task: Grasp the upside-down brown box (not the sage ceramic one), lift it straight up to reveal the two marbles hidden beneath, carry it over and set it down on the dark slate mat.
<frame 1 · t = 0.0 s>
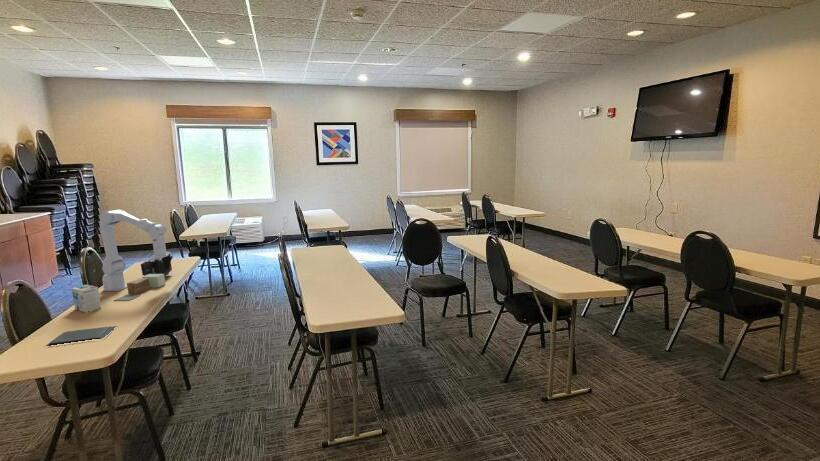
hand: (162, 271, 223), 10 cm above the table, tool pointing down, fingers open, 7 cm apart
marble b: (136, 292, 220), on the table
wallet: (83, 338, 166), on the table
marble c: (154, 283, 232), in the sage cover
camera: (158, 277, 248), on the table
marble a: (142, 290, 224), on the table
slate mat: (127, 298, 211), on the table
brown box: (139, 291, 222), on the table
sage cover: (154, 285, 232), on the table
light bulb box: (88, 309, 197), on the table
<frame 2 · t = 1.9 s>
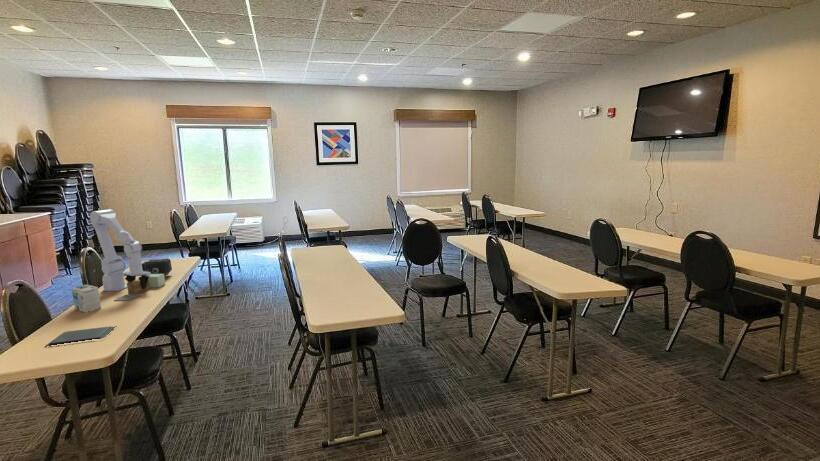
hand: (139, 288, 222), 1 cm above the table, tool pointing down, fingers closed on brown box, 5 cm apart
brown box: (139, 291, 222), on the table, touching gripper
everything else where it was.
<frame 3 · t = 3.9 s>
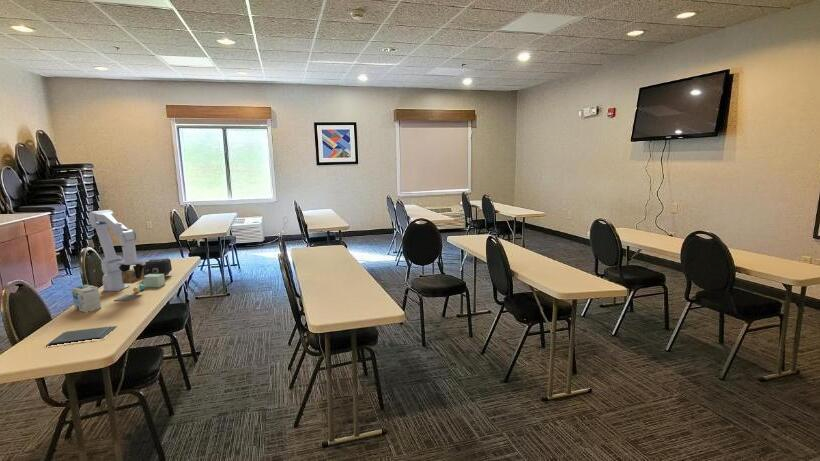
hand: (133, 278, 217), 8 cm above the table, tool pointing down, fingers closed on brown box, 5 cm apart
brown box: (134, 281, 217), point 7 cm above the table, touching gripper
everything else where it was.
when the fingers open (3 cm above the table, at t = 5.9 s): brown box stays where it is, resting on slate mat.
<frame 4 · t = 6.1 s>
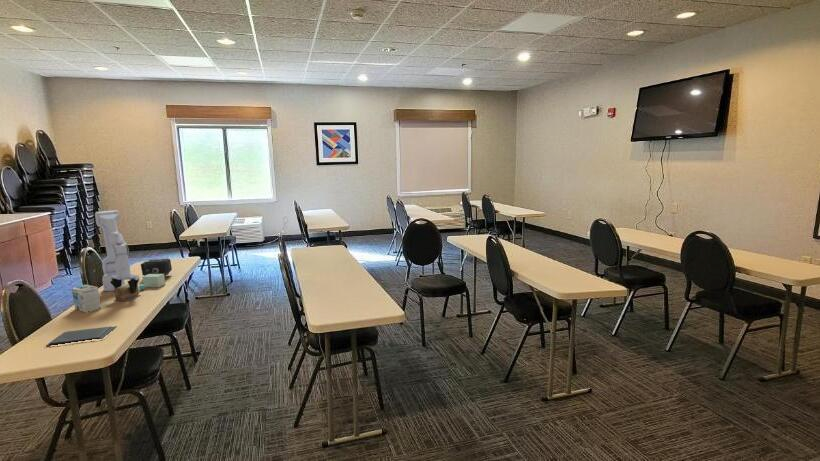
hand: (126, 293, 211), 3 cm above the table, tool pointing down, fingers open, 7 cm apart
brown box: (127, 297, 211), resting on slate mat
everything else where it was.
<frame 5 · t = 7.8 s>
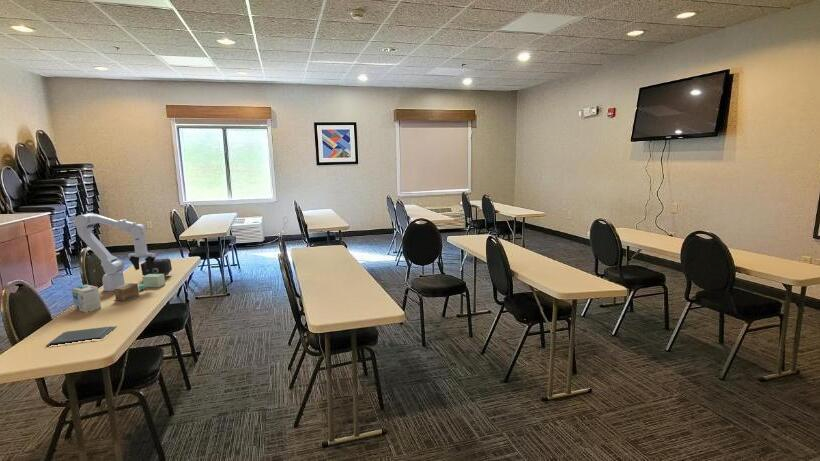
hand: (143, 269, 228), 10 cm above the table, tool pointing down, fingers open, 7 cm apart
nothing on the table moved.
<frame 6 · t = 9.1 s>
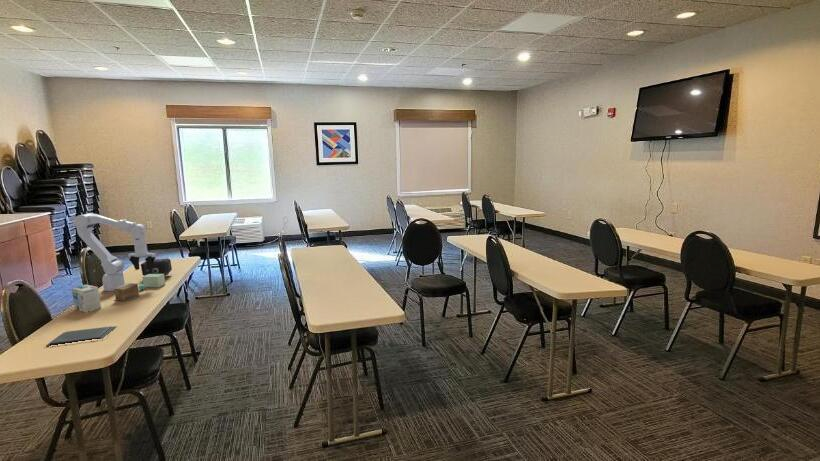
hand: (143, 269, 229), 10 cm above the table, tool pointing down, fingers open, 7 cm apart
nothing on the table moved.
at the end: brown box inside the target area on the slate mat (0.2 cm from its centre), point 0.4 cm above the slate mat's base; brown box tilted 0°; the gripper is holding nothing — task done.
